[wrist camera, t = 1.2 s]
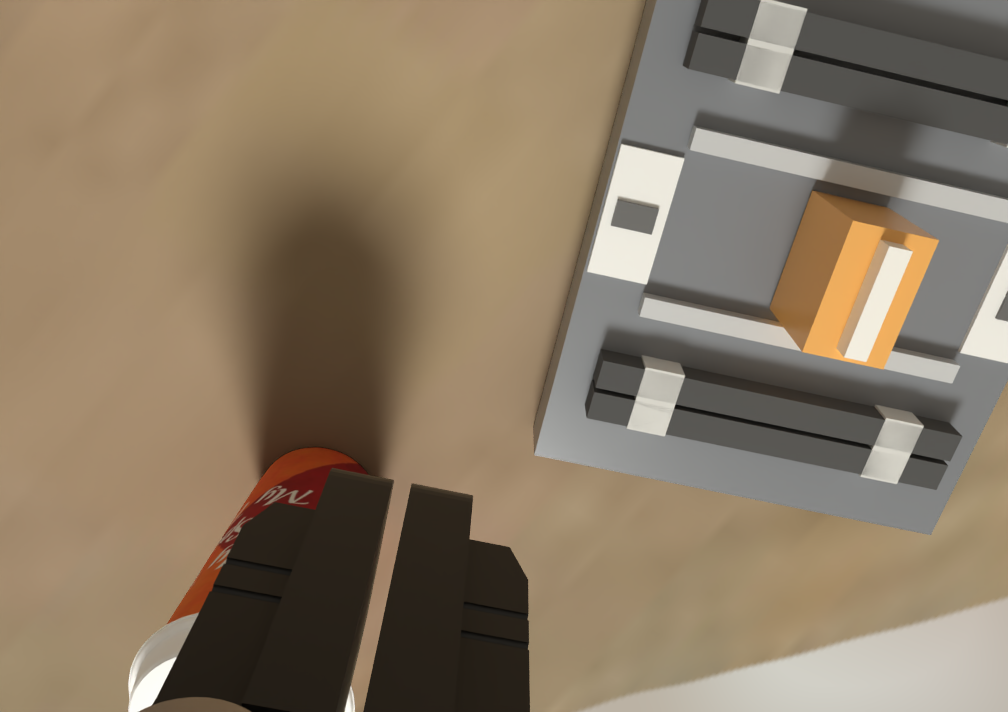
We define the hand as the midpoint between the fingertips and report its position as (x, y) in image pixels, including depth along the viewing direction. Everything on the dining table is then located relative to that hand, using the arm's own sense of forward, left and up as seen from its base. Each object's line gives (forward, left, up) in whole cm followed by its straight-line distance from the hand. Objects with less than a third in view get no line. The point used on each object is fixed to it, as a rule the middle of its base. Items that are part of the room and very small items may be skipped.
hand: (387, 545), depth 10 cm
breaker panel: (+1, +14, -27) cm, 30 cm away
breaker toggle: (+1, +14, -24) cm, 28 cm away
